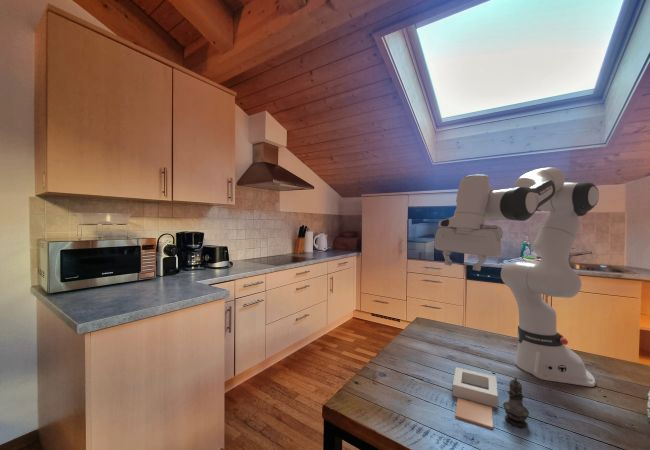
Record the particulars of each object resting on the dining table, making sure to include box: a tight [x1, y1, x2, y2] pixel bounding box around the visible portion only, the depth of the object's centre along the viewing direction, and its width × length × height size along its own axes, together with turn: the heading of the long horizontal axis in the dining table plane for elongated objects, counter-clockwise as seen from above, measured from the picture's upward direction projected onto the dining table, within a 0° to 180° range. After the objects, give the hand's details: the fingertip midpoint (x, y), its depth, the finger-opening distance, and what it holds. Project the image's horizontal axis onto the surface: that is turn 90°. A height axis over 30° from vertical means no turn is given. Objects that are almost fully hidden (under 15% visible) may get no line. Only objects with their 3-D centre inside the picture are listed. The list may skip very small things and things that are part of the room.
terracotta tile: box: [454, 397, 494, 430], centre depth 78 cm, size 9×9×1 cm
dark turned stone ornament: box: [502, 377, 530, 430], centre depth 74 cm, size 6×6×12 cm
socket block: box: [452, 366, 499, 409], centre depth 88 cm, size 12×12×4 cm
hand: (461, 267), depth 85 cm, fingers open, 8 cm apart
